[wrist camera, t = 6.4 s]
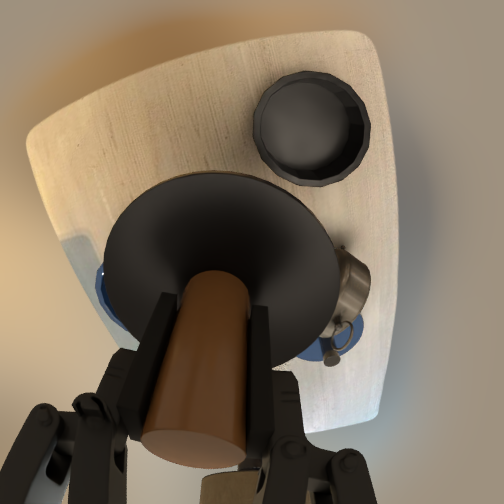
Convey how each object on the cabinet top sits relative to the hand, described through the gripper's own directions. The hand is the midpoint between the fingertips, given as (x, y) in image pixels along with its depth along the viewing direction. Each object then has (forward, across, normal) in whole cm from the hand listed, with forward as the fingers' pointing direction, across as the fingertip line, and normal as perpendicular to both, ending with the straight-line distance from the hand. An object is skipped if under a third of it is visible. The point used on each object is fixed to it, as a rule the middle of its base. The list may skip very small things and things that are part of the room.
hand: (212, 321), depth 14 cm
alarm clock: (+25, +13, -9) cm, 30 cm away
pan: (+25, +7, +9) cm, 27 cm away
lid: (+3, 0, 0) cm, 3 cm away
